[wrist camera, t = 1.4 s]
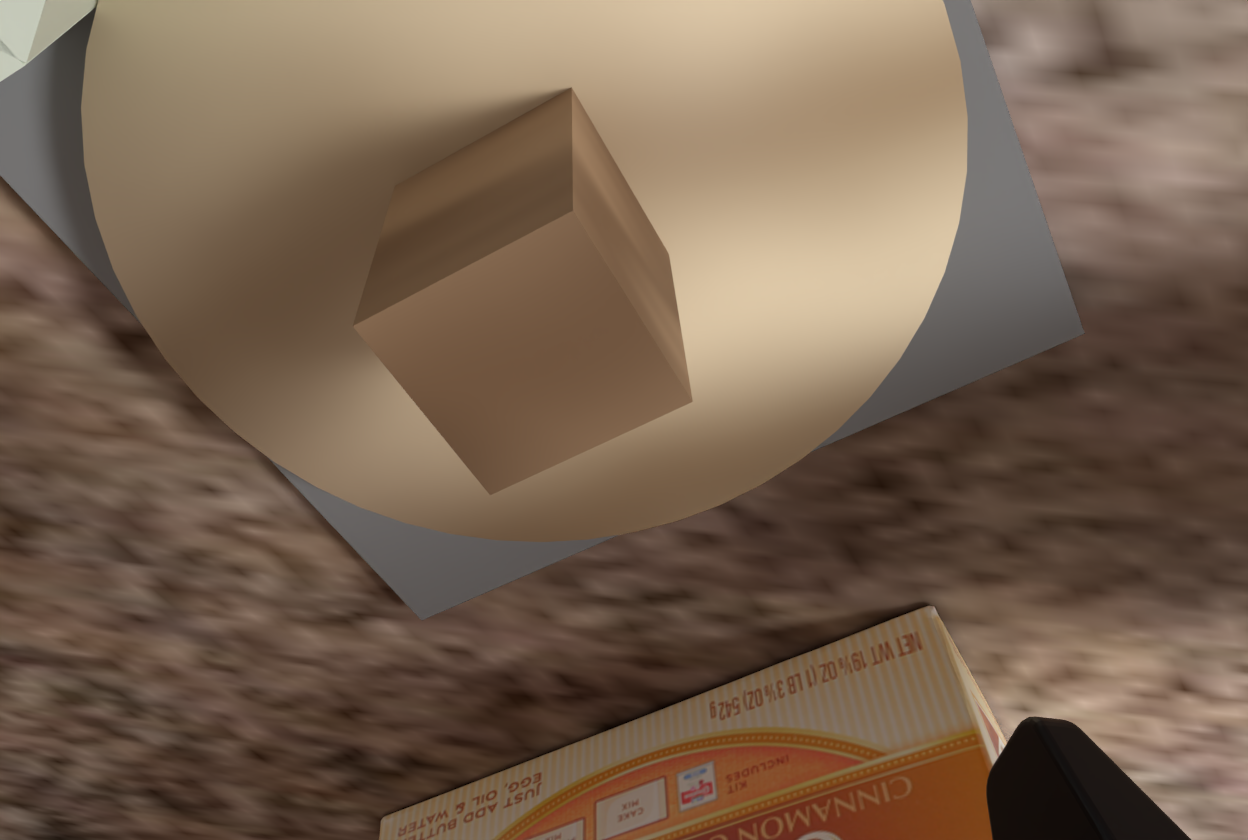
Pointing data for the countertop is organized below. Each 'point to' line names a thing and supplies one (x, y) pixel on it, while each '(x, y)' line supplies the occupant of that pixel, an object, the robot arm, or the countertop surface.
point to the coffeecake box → (763, 758)
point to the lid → (528, 236)
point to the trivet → (468, 566)
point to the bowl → (34, 28)
